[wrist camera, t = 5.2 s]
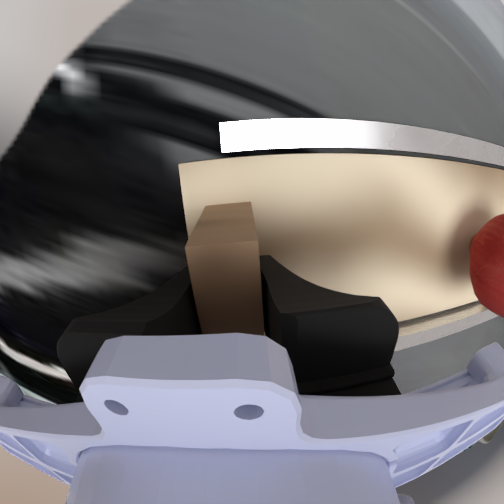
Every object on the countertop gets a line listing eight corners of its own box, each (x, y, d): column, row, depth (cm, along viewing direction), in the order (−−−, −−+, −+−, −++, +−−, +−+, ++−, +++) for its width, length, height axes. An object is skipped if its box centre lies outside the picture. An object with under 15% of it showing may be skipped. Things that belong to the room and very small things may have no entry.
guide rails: (528, 289, 16) (537, 296, 15) (245, 356, 16) (246, 375, 15) (551, 166, 11) (562, 170, 10) (222, 125, 11) (219, 122, 10)
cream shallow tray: (488, 292, 16) (527, 328, 11) (209, 340, 15) (201, 416, 10) (510, 171, 12) (564, 190, 7) (180, 163, 12) (138, 179, 7)
